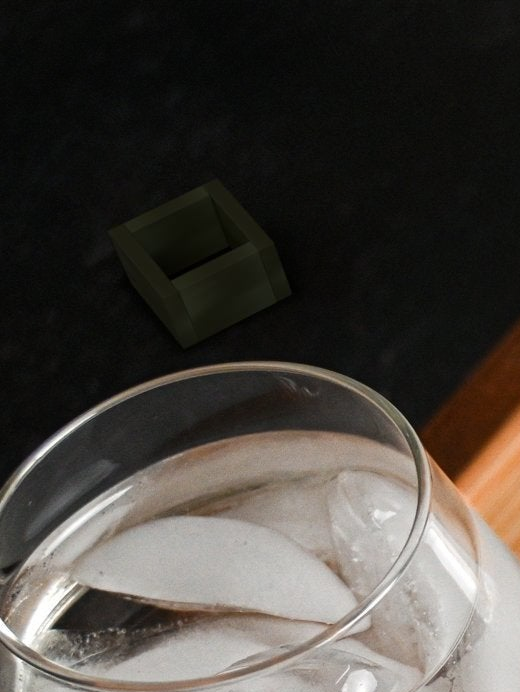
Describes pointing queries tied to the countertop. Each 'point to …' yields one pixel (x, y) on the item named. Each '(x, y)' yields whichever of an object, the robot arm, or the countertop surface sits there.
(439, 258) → the countertop surface
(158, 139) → the countertop surface
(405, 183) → the countertop surface
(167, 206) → the box
